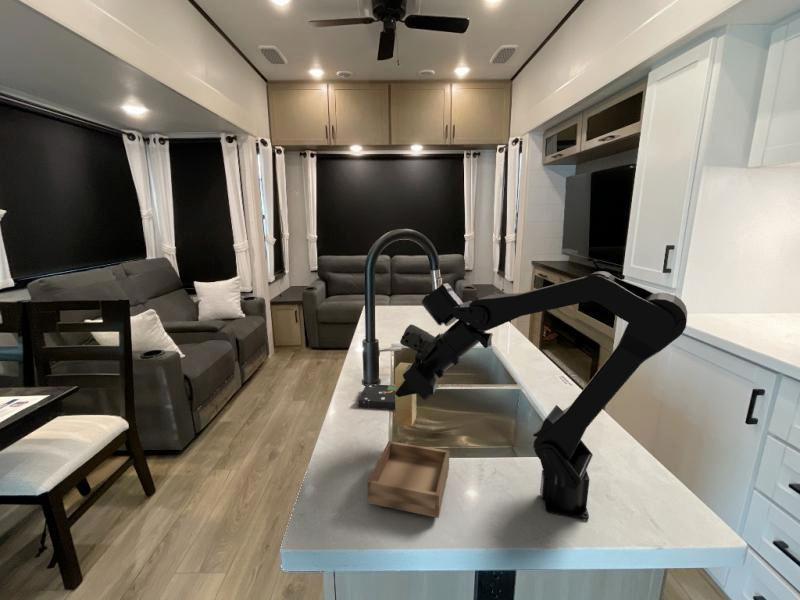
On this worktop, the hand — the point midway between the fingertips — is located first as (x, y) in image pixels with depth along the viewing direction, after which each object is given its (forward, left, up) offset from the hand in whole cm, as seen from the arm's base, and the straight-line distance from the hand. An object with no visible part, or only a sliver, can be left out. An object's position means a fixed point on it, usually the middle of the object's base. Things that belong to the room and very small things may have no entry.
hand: (399, 390), depth 74 cm
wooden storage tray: (-5, +12, -13) cm, 19 cm away
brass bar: (-1, 0, -7) cm, 7 cm away
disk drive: (+9, -20, -14) cm, 26 cm away
